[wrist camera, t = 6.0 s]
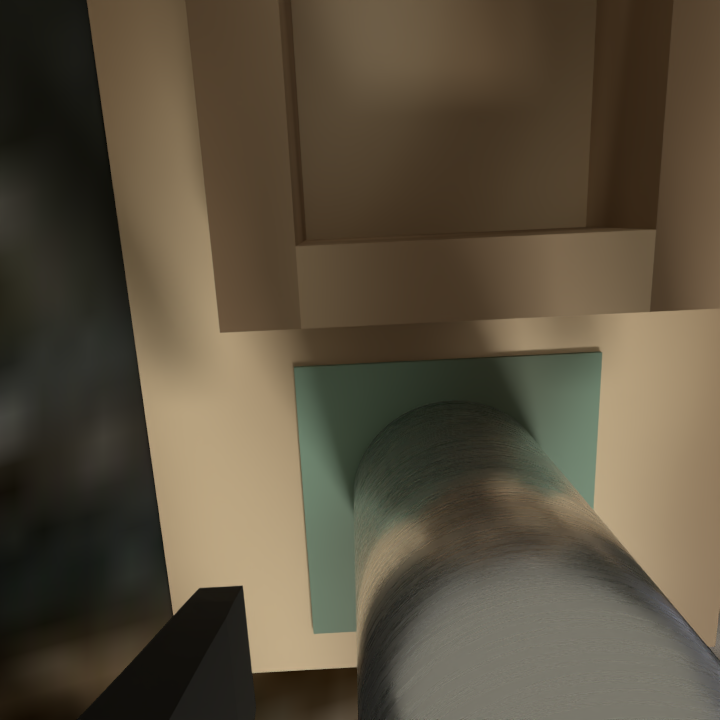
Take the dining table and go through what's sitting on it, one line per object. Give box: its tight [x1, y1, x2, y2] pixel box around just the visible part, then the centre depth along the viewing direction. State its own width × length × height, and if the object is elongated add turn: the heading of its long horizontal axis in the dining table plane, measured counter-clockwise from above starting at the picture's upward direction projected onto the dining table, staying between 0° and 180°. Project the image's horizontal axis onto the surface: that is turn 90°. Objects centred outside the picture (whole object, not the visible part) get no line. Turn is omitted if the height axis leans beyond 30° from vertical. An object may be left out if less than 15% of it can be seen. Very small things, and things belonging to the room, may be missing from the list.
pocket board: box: [87, 0, 720, 673], centre depth 10 cm, size 12×18×3 cm, turn 3°
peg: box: [354, 400, 720, 720], centre depth 8 cm, size 4×4×8 cm
